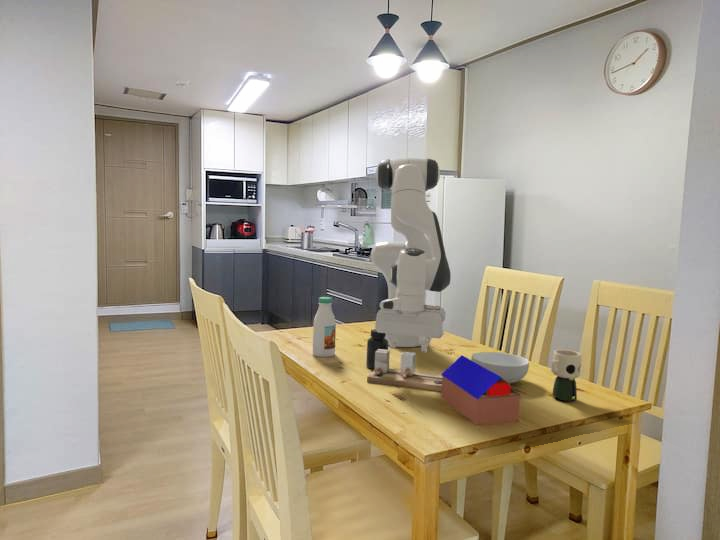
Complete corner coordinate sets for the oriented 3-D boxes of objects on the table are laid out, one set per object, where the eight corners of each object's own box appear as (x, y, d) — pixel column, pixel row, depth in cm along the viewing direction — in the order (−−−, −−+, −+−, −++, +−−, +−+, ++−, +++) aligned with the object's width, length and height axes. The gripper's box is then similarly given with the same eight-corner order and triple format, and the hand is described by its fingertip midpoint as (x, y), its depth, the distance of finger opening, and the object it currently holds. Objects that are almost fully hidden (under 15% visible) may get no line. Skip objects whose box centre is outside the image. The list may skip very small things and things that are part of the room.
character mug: (560, 405, 141) (563, 357, 140) (539, 397, 147) (543, 351, 146) (588, 400, 146) (592, 354, 145) (568, 392, 152) (571, 347, 151)
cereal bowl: (539, 385, 158) (541, 362, 157) (498, 393, 150) (499, 368, 149) (498, 370, 173) (500, 348, 172) (458, 376, 165) (460, 353, 164)
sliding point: (403, 371, 162) (404, 351, 161) (414, 372, 161) (415, 352, 160) (398, 377, 155) (399, 357, 155) (410, 378, 154) (411, 358, 154)
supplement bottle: (385, 370, 168) (387, 333, 166) (364, 369, 169) (365, 331, 168) (388, 365, 174) (390, 329, 173) (368, 363, 176) (369, 327, 174)
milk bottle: (315, 358, 180) (316, 299, 178) (310, 352, 187) (311, 296, 185) (337, 357, 182) (339, 299, 180) (331, 351, 189) (333, 295, 187)
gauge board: (377, 371, 166) (378, 347, 166) (464, 382, 158) (466, 356, 158) (367, 381, 156) (368, 355, 155) (460, 393, 148) (461, 366, 147)
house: (479, 395, 148) (481, 354, 147) (520, 422, 129) (523, 375, 128) (439, 398, 145) (441, 356, 143) (475, 426, 125) (478, 378, 124)
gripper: (447, 305, 157) (445, 351, 158) (380, 299, 163) (378, 344, 164) (444, 308, 151) (441, 356, 152) (374, 302, 157) (372, 348, 158)
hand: (408, 350), depth 158 cm, fingers open, 8 cm apart
